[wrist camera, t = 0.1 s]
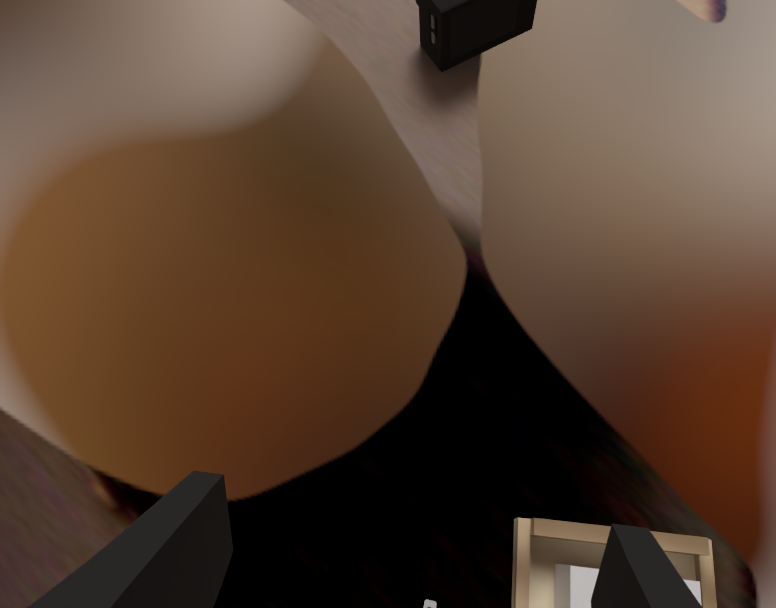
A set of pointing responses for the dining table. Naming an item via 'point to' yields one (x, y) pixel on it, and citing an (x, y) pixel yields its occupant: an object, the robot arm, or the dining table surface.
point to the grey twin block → (587, 586)
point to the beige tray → (591, 558)
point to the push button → (429, 604)
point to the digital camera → (470, 27)
